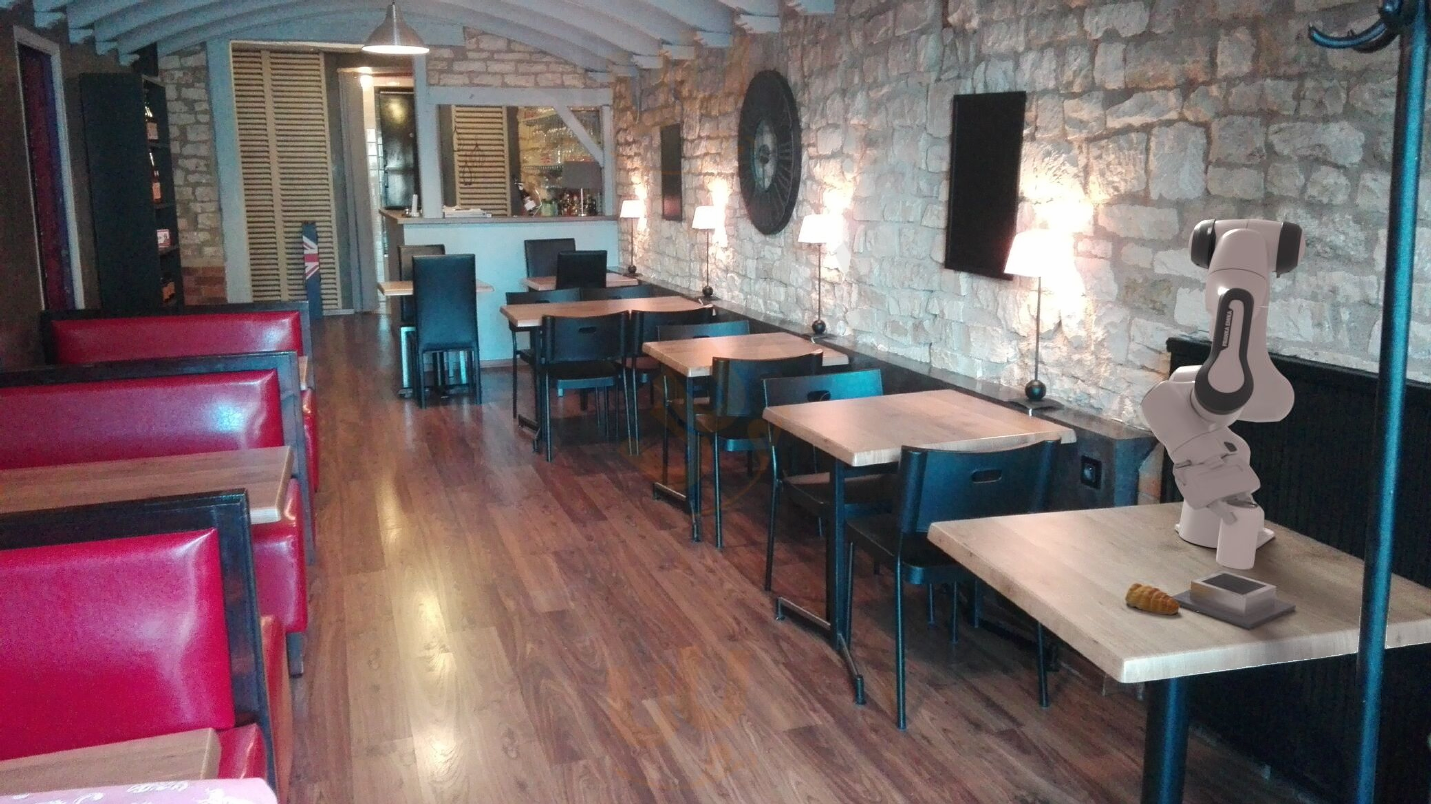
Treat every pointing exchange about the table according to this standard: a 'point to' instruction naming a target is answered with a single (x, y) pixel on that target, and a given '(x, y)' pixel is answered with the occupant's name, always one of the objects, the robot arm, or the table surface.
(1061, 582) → the table surface
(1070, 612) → the table surface
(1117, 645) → the table surface
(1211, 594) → the collar
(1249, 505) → the can
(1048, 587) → the table surface
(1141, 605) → the pastry
